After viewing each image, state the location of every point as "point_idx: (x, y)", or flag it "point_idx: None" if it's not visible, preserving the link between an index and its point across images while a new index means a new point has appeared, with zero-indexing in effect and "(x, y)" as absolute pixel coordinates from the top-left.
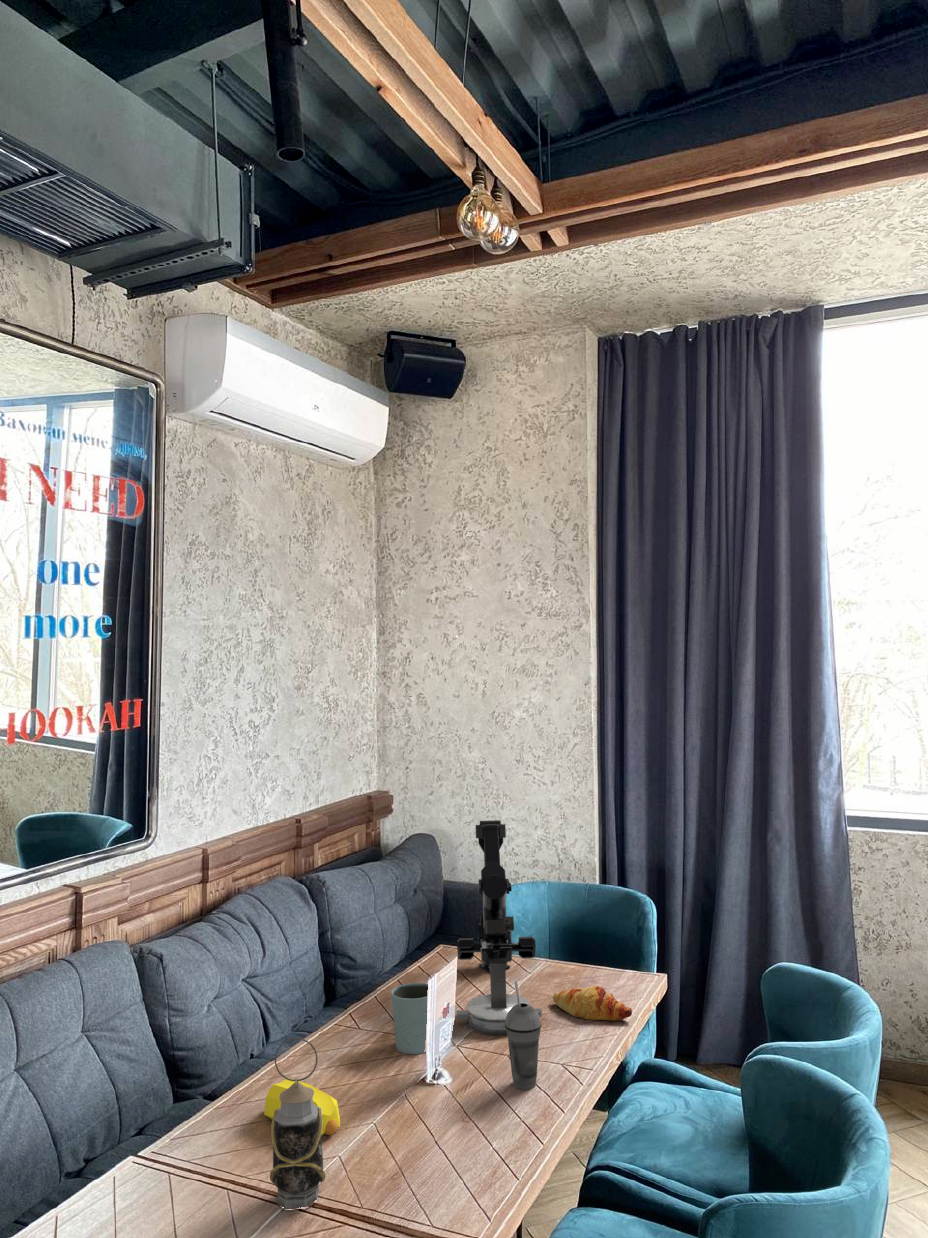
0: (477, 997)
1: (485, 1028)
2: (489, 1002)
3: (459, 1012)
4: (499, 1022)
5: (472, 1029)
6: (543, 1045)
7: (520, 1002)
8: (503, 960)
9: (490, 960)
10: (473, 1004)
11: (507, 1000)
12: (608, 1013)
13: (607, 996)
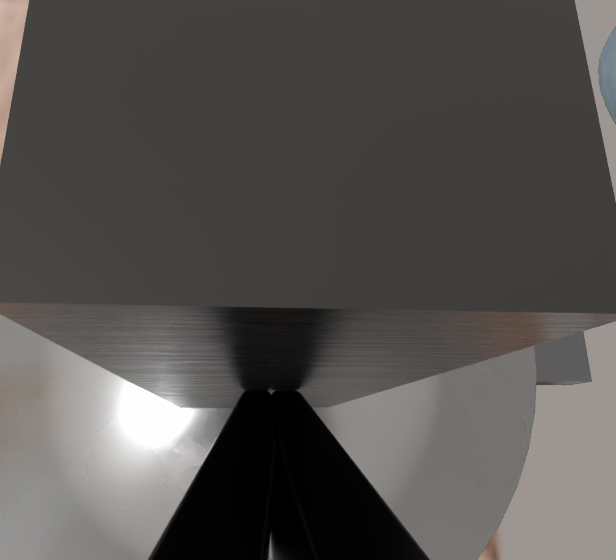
0: (466, 552)
1: None
2: (343, 405)
3: (564, 338)
4: None
5: None
6: (5, 12)
7: (27, 385)
8: (80, 64)
9: (587, 129)
10: (485, 363)
11: (158, 448)
12: None
13: None
